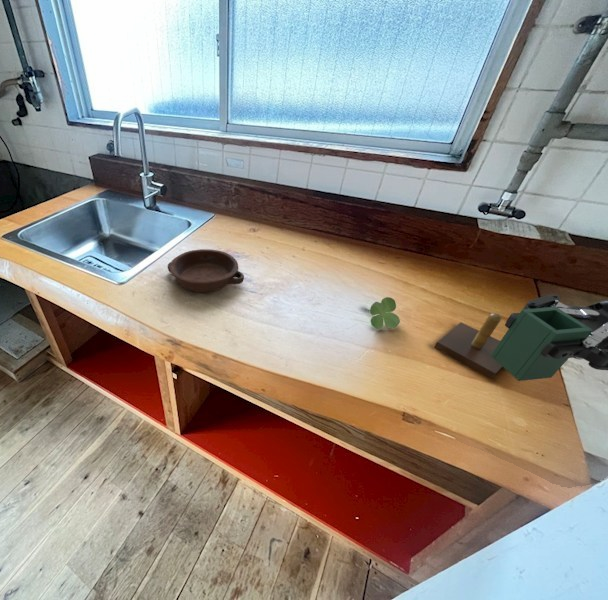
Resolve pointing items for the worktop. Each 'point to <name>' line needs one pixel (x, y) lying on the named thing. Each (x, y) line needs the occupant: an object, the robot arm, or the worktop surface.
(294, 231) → the worktop surface
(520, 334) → the sleeve
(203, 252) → the dish
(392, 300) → the green leafy piece
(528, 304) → the robot arm
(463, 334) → the brown peg stand
